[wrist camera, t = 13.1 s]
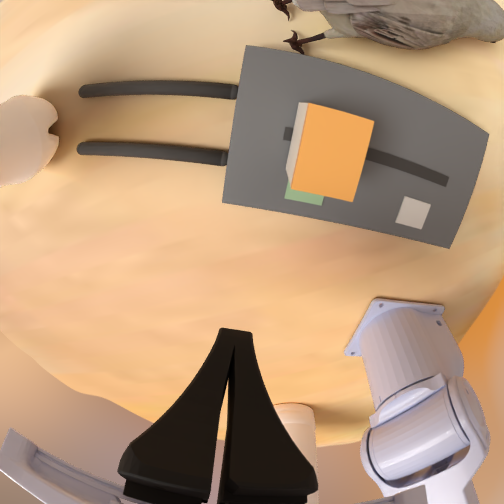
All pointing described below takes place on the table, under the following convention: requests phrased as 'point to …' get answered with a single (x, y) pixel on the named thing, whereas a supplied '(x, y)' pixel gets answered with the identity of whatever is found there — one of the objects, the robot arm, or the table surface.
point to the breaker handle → (327, 151)
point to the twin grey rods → (154, 149)
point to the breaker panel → (377, 157)
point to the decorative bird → (404, 21)
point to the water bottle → (25, 138)
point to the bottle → (301, 434)
